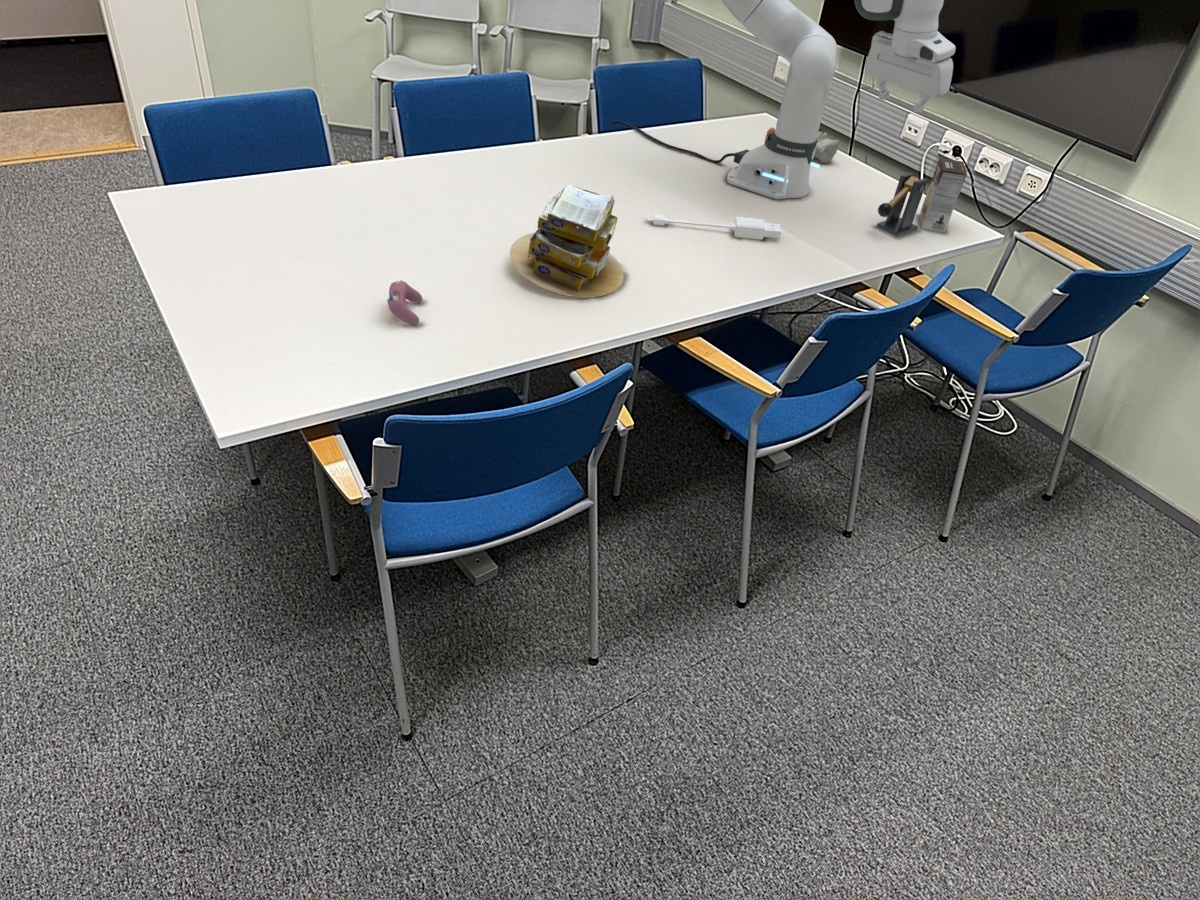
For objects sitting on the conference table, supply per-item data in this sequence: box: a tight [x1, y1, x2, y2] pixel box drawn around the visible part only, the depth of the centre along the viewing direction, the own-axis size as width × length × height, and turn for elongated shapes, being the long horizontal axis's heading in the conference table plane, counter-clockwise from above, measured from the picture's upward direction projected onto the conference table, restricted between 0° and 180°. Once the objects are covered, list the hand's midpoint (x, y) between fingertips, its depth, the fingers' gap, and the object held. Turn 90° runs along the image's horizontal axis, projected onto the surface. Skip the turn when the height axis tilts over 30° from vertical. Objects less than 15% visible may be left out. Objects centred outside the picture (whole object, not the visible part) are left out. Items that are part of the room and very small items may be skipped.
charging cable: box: [646, 214, 783, 241], centre depth 213 cm, size 5×32×3 cm, turn 86°
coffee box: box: [918, 157, 968, 233], centre depth 226 cm, size 9×6×16 cm
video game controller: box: [387, 279, 423, 326], centre depth 168 cm, size 10×5×7 cm, turn 5°
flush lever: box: [877, 176, 920, 218], centre depth 218 cm, size 13×3×3 cm
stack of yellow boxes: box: [509, 183, 625, 298], centre depth 184 cm, size 25×25×17 cm
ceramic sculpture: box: [813, 128, 840, 164], centre depth 260 cm, size 11×9×15 cm
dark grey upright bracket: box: [876, 172, 928, 237], centre depth 222 cm, size 9×6×14 cm
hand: (900, 105), depth 197 cm, fingers open, 8 cm apart
